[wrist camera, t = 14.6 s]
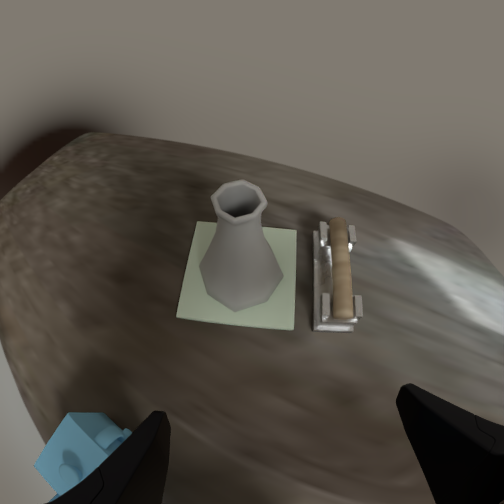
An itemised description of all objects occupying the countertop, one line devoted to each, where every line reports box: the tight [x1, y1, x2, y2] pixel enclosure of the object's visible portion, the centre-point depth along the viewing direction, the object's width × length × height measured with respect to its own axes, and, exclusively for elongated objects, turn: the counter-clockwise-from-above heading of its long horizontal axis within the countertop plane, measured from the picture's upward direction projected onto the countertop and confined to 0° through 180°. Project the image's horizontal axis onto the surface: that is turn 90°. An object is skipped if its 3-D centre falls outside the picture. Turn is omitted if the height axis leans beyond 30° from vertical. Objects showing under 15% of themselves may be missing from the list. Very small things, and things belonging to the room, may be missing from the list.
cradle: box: [312, 221, 363, 333], centre depth 23 cm, size 10×4×3 cm, turn 175°
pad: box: [176, 221, 296, 330], centre depth 25 cm, size 10×10×1 cm
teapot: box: [34, 412, 132, 503], centre depth 12 cm, size 12×6×8 cm, turn 147°
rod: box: [329, 217, 353, 320], centre depth 22 cm, size 9×2×2 cm, turn 175°
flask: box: [199, 179, 284, 312], centre depth 20 cm, size 7×7×10 cm
